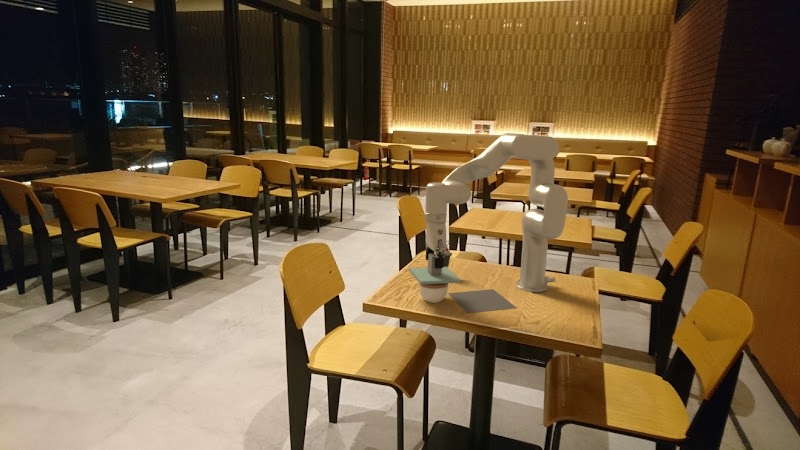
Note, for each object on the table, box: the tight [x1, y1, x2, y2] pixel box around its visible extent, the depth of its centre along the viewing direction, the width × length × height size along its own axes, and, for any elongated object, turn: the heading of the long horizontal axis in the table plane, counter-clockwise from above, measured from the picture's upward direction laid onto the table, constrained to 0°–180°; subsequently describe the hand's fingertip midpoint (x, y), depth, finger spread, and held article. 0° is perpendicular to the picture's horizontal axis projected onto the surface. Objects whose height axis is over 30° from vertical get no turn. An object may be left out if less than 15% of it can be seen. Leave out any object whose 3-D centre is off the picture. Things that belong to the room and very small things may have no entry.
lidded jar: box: [418, 282, 449, 304], centre depth 174 cm, size 11×11×9 cm
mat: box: [447, 288, 518, 314], centre depth 175 cm, size 19×19×1 cm
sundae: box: [438, 242, 453, 268], centre depth 199 cm, size 7×7×15 cm
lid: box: [408, 253, 462, 284], centre depth 172 cm, size 15×15×8 cm
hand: (434, 263), depth 172 cm, fingers open, 9 cm apart
